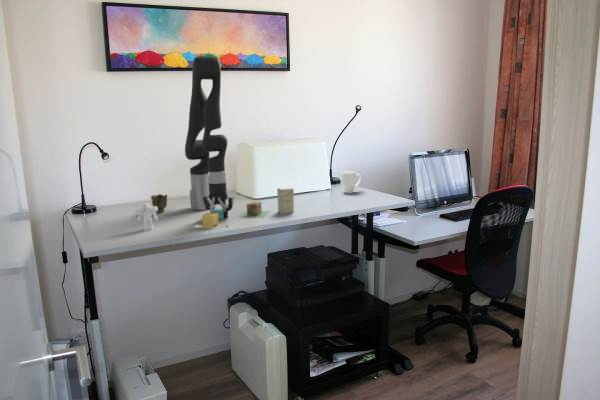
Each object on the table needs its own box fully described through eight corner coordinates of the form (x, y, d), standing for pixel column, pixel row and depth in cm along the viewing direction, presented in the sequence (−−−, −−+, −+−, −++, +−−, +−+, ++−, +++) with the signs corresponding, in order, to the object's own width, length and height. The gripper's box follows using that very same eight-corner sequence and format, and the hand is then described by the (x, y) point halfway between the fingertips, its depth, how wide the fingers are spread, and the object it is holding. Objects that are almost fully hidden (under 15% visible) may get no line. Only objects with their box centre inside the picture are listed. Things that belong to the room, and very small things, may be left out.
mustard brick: (202, 227, 197) (201, 215, 196) (208, 224, 202) (207, 212, 201) (213, 228, 196) (213, 216, 195) (218, 224, 201) (218, 213, 199)
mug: (346, 194, 254) (346, 173, 252) (338, 192, 262) (338, 171, 259) (365, 192, 259) (365, 171, 257) (357, 189, 266) (357, 169, 264)
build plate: (237, 219, 208) (236, 216, 208) (246, 212, 220) (246, 210, 219) (262, 220, 205) (262, 217, 205) (271, 213, 217) (271, 211, 216)
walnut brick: (247, 215, 211) (246, 204, 209) (251, 212, 215) (250, 201, 214) (257, 215, 209) (257, 204, 208) (261, 212, 214) (261, 202, 213)
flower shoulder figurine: (159, 226, 200) (156, 198, 197) (160, 228, 196) (157, 200, 194) (136, 229, 196) (133, 201, 194) (137, 231, 193) (134, 202, 190)
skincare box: (281, 216, 212) (281, 189, 209) (277, 214, 215) (276, 188, 213) (294, 214, 214) (293, 188, 212) (290, 212, 218) (289, 186, 216)
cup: (171, 210, 227) (170, 194, 226) (161, 214, 221) (159, 197, 219) (159, 209, 230) (158, 193, 229) (149, 213, 224) (147, 196, 222)
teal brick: (211, 221, 206) (211, 210, 204) (216, 218, 210) (216, 207, 209) (222, 222, 204) (221, 210, 203) (227, 219, 209) (226, 208, 208)
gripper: (198, 182, 202) (200, 221, 205) (229, 183, 198) (231, 222, 202) (205, 179, 209) (208, 216, 213) (236, 180, 205) (238, 218, 209)
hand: (219, 219), depth 207 cm, fingers closed on teal brick, 5 cm apart
